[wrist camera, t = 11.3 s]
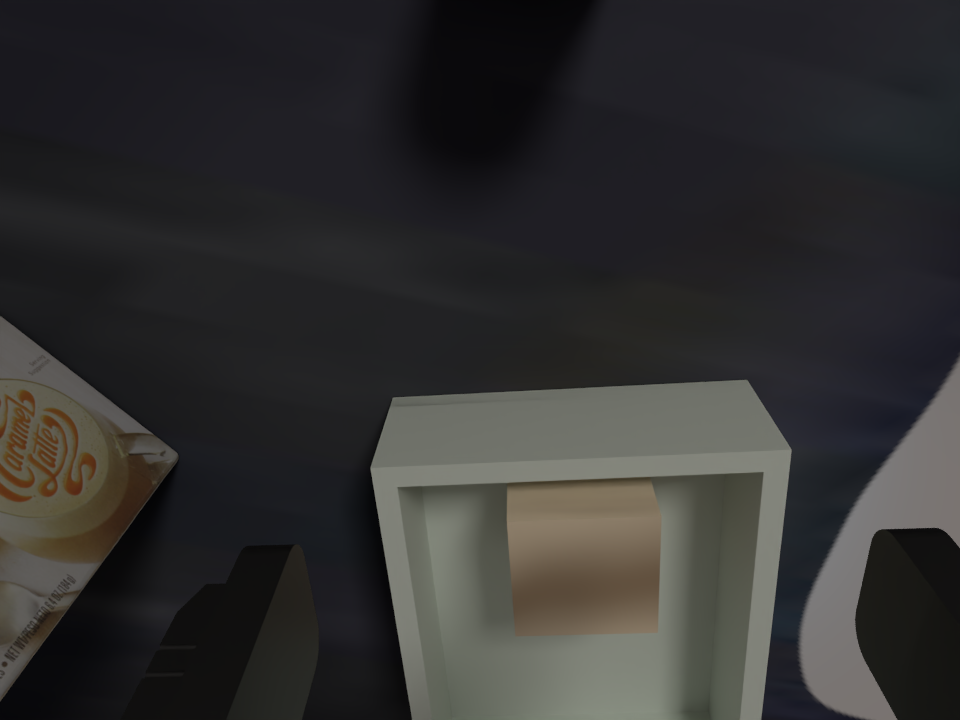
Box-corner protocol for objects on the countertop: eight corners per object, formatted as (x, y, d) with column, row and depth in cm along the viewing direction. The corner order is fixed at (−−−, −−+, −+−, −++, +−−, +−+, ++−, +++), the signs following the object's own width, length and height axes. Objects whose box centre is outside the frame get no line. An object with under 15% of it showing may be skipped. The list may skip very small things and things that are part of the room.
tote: (392, 397, 29) (370, 468, 24) (746, 380, 28) (791, 449, 24) (438, 714, 36) (427, 813, 32) (720, 708, 35) (750, 810, 31)
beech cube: (508, 442, 29) (506, 521, 24) (638, 436, 28) (661, 516, 24) (515, 545, 31) (515, 636, 26) (636, 541, 30) (657, 632, 26)
